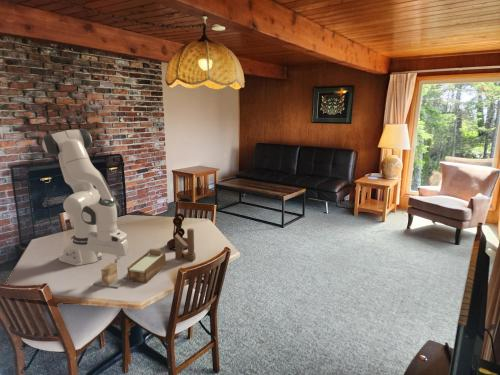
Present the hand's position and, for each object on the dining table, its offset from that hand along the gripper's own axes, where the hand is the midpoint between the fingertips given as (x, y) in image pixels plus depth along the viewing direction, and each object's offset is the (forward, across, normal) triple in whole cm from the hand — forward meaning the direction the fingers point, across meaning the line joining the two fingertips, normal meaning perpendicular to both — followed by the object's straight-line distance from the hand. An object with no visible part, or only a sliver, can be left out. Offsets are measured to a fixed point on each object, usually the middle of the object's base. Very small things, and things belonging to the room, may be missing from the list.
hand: (108, 261), depth 166 cm
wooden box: (+10, +13, +14) cm, 22 cm away
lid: (+5, +13, +14) cm, 19 cm away
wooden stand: (+10, +26, +33) cm, 43 cm away
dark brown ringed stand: (+10, +15, +50) cm, 53 cm away
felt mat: (+11, +1, -1) cm, 11 cm away
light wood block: (+10, +1, -1) cm, 10 cm away
